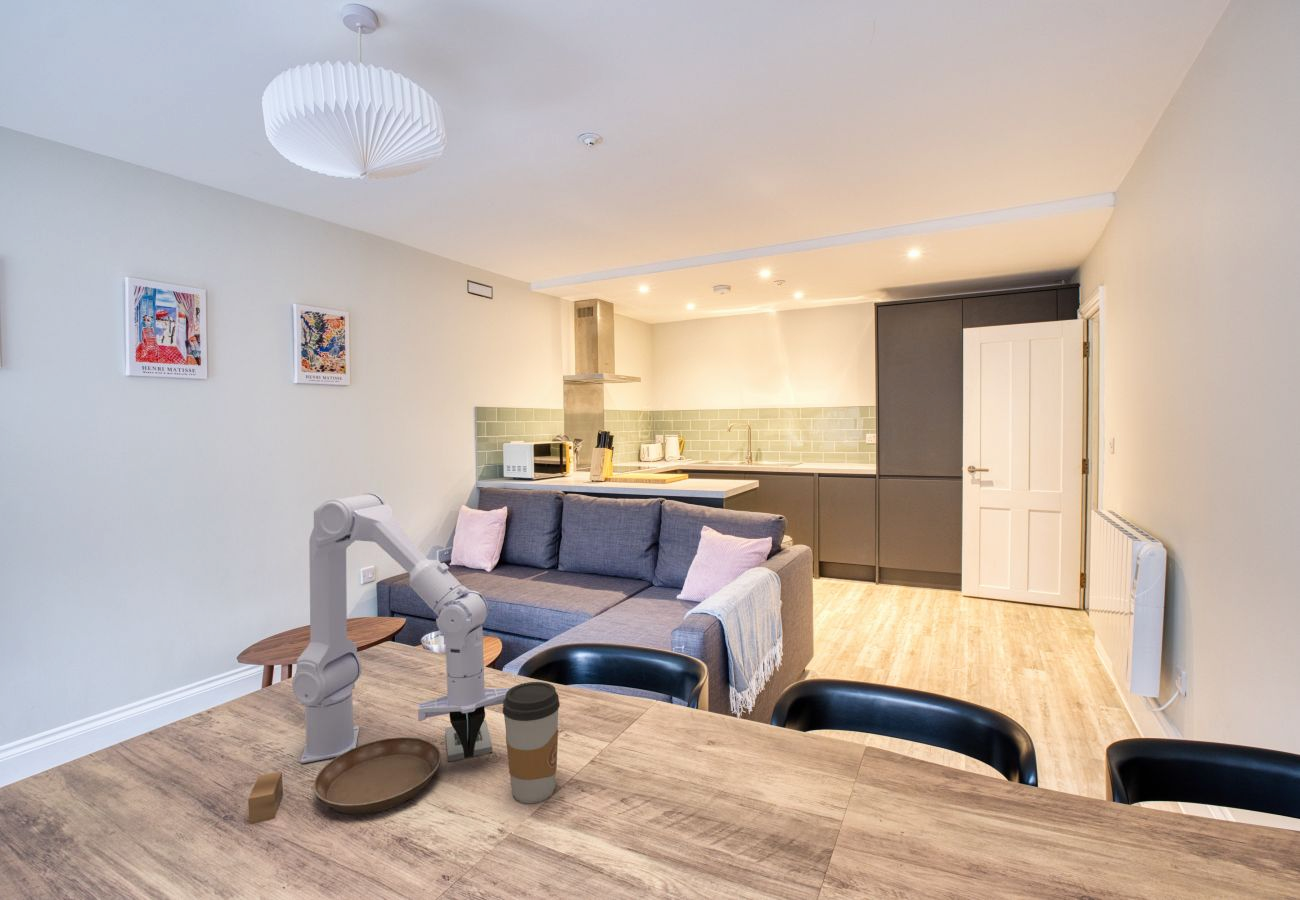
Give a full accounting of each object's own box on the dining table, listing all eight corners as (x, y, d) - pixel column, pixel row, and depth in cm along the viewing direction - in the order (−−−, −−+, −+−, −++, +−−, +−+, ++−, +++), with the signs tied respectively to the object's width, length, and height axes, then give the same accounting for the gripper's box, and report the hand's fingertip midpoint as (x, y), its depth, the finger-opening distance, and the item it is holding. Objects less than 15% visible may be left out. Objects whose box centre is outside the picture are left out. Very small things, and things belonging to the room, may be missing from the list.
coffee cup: (550, 811, 85) (547, 707, 85) (495, 805, 87) (491, 703, 87) (569, 777, 94) (567, 682, 93) (519, 772, 95) (516, 678, 95)
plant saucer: (400, 829, 83) (399, 807, 83) (285, 817, 86) (284, 796, 86) (461, 759, 100) (461, 740, 100) (364, 751, 103) (363, 733, 103)
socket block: (445, 733, 108) (445, 727, 108) (486, 725, 111) (485, 719, 111) (448, 761, 99) (448, 755, 99) (492, 752, 101) (492, 746, 101)
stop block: (259, 799, 90) (258, 775, 90) (283, 794, 91) (282, 771, 91) (249, 823, 84) (248, 798, 84) (274, 818, 85) (273, 793, 85)
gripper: (416, 688, 91) (420, 777, 91) (515, 672, 96) (518, 756, 96) (416, 671, 97) (420, 754, 98) (508, 656, 102) (511, 735, 103)
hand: (468, 754), depth 98 cm, fingers closed
